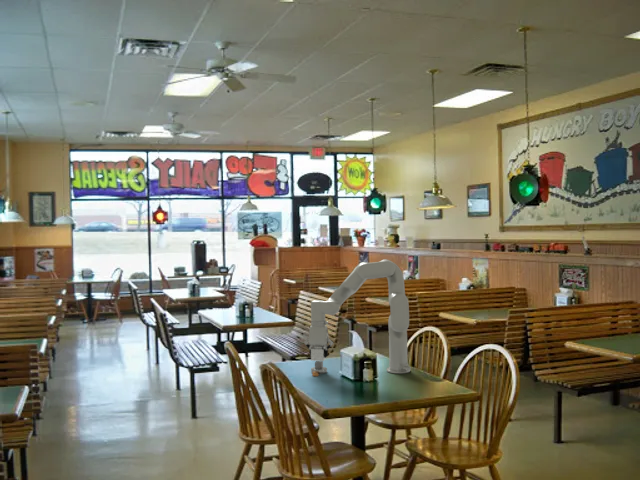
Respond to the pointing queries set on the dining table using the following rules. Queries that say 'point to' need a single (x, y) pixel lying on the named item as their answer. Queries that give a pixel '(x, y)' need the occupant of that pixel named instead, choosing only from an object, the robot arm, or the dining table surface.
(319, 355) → the socket
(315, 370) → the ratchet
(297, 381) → the dining table surface
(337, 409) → the dining table surface
